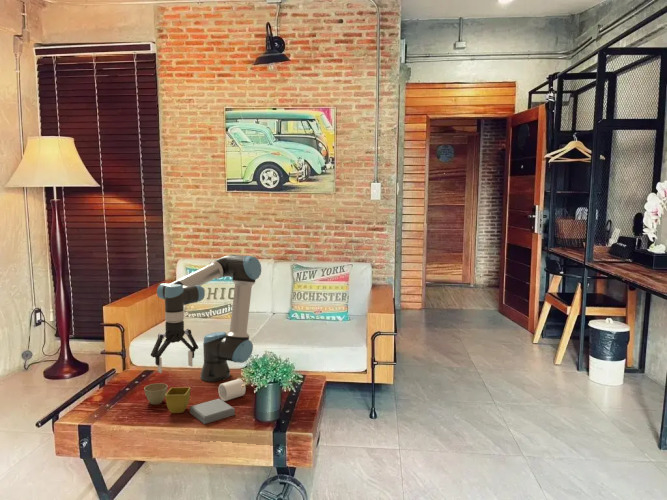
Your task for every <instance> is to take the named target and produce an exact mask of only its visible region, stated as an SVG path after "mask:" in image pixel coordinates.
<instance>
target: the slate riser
mask: <svg viewBox="0 0 667 500" xmlns="http://www.w3.org/2000/svg"><path fill="white" fill-rule="evenodd" d="M235 410H236V409H235V408H234V407H233V406H231V405H230V404H228V403H226V401H223V400H221V398H216V399H213V400H209V401H205V402H201V403H198V404H194V405H191V406H189V414H191V415H192V416H193V417H195V418H196V419H197V420H199V422H201V423H202V424H204V425H207V424H210V423H212V422H216V421H219V420H222V419H225V418H228V417H231V416H232V417H233V416H235V415H236V414H235V413H236V412H235Z"/></svg>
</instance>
